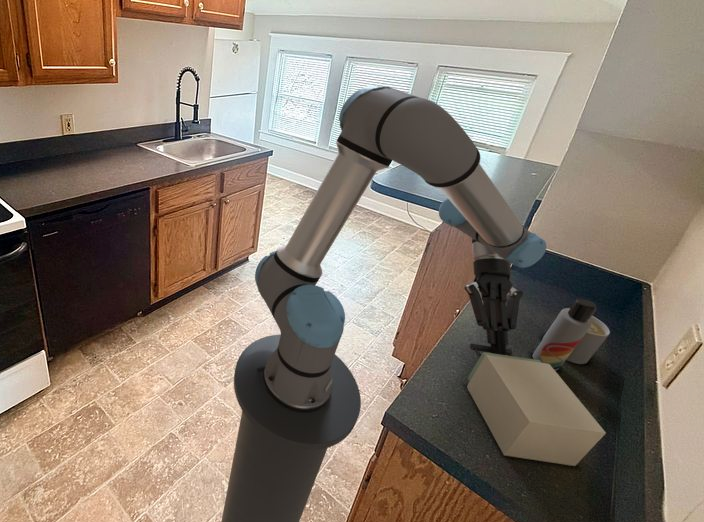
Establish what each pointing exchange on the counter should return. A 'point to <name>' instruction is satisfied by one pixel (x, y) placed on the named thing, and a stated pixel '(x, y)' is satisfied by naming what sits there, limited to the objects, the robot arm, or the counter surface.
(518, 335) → the counter surface
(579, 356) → the coffee mug
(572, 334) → the lotion bottle
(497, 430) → the cream rectangular box
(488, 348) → the drawer
